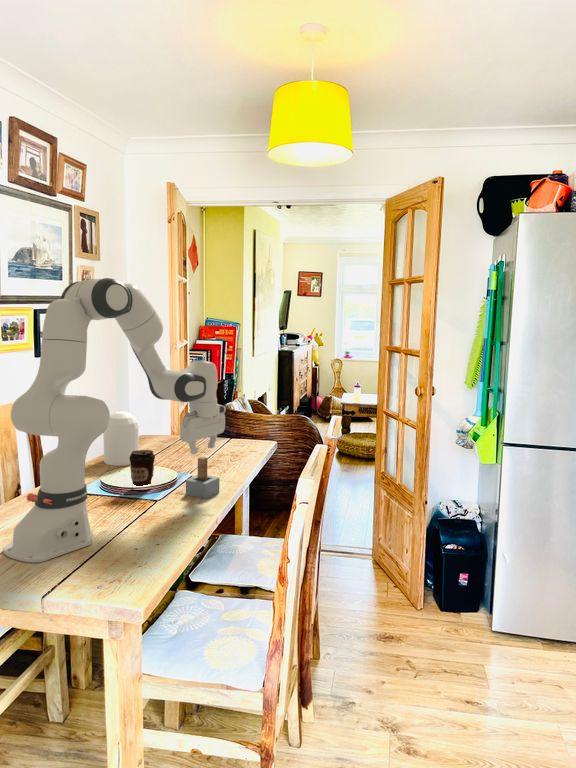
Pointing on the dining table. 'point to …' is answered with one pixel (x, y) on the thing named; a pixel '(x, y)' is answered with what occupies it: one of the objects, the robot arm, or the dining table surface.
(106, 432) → the container
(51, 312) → the robot arm
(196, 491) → the socket block
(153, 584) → the dining table surface
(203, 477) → the dowel
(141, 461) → the coffee cup
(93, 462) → the dining table surface
